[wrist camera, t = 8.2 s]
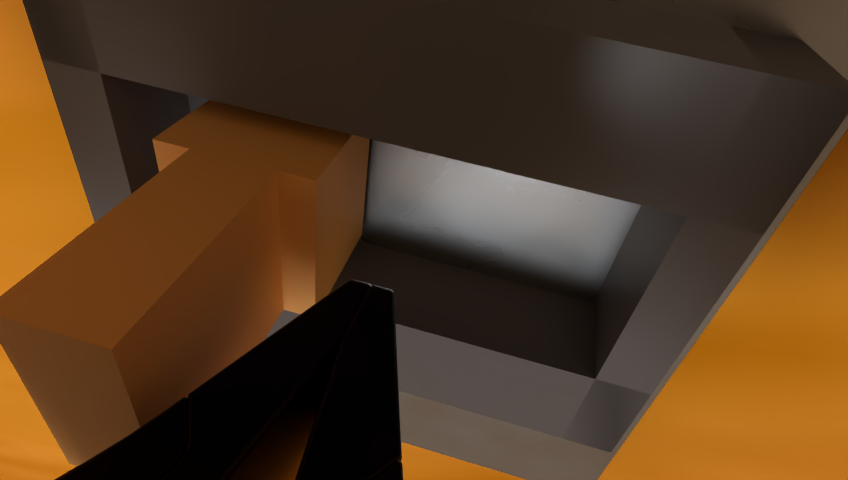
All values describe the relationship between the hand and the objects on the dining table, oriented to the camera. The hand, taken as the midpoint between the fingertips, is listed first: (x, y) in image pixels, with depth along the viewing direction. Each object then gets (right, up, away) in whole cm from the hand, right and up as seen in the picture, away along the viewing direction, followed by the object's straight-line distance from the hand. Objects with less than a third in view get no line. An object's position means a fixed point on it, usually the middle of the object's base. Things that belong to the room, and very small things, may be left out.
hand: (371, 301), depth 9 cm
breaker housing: (0, +1, +4) cm, 4 cm away
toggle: (-2, +3, +3) cm, 5 cm away
